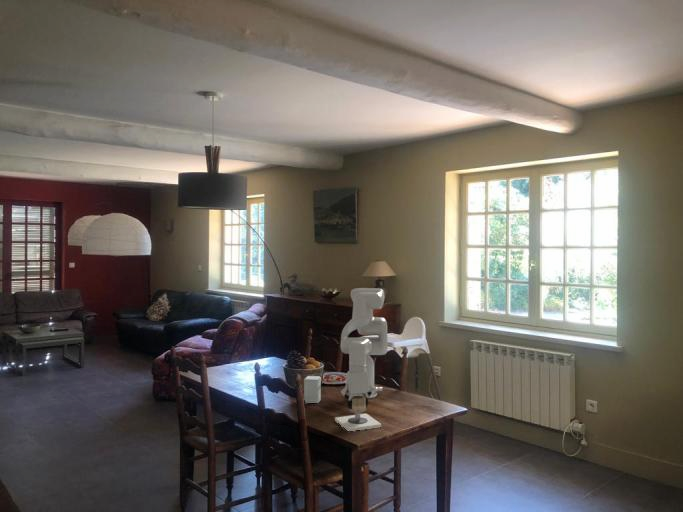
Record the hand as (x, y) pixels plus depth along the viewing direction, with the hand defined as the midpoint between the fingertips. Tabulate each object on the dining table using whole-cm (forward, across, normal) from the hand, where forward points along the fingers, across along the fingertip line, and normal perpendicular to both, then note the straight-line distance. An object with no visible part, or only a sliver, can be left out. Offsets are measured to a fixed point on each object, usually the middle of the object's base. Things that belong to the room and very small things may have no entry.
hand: (357, 407), depth 248 cm
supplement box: (+8, +8, -40) cm, 42 cm away
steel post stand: (+8, 0, 0) cm, 8 cm away
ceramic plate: (+8, -17, -75) cm, 78 cm away
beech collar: (+1, 0, 0) cm, 1 cm away
